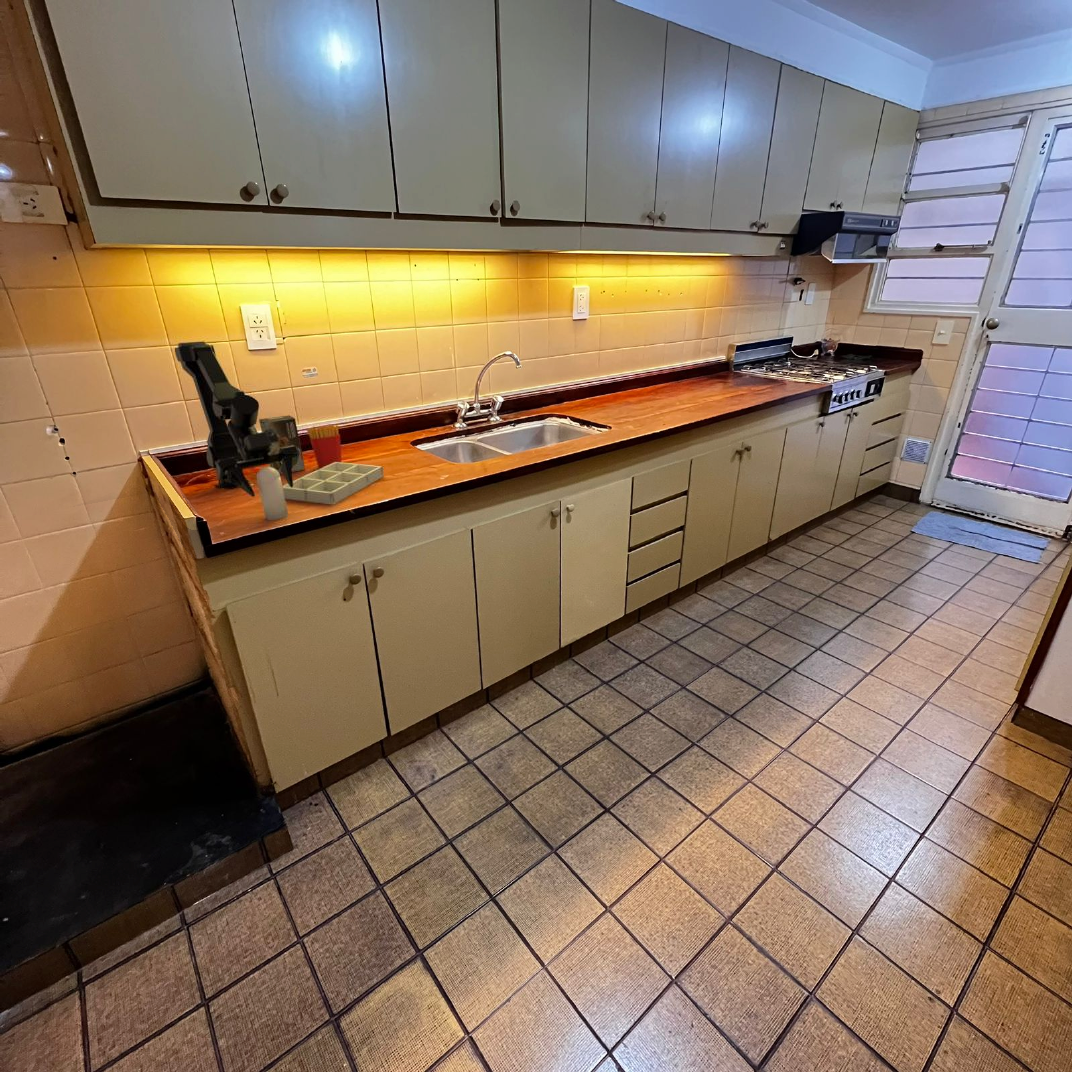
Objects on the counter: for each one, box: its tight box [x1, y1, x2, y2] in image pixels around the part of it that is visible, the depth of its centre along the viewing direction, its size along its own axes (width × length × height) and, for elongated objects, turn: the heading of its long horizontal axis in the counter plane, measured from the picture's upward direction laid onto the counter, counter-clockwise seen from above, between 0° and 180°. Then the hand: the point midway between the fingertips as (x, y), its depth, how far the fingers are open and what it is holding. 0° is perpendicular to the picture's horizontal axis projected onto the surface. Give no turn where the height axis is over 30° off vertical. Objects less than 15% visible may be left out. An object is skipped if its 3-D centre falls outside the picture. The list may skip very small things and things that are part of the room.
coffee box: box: [258, 415, 306, 475], centre depth 171 cm, size 9×6×16 cm
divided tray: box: [282, 461, 384, 506], centre depth 159 cm, size 16×24×3 cm
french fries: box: [306, 424, 343, 470], centre depth 175 cm, size 9×4×13 cm, turn 121°
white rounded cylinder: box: [256, 466, 289, 521], centre depth 138 cm, size 5×5×13 cm
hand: (273, 491), depth 137 cm, fingers open, 9 cm apart
